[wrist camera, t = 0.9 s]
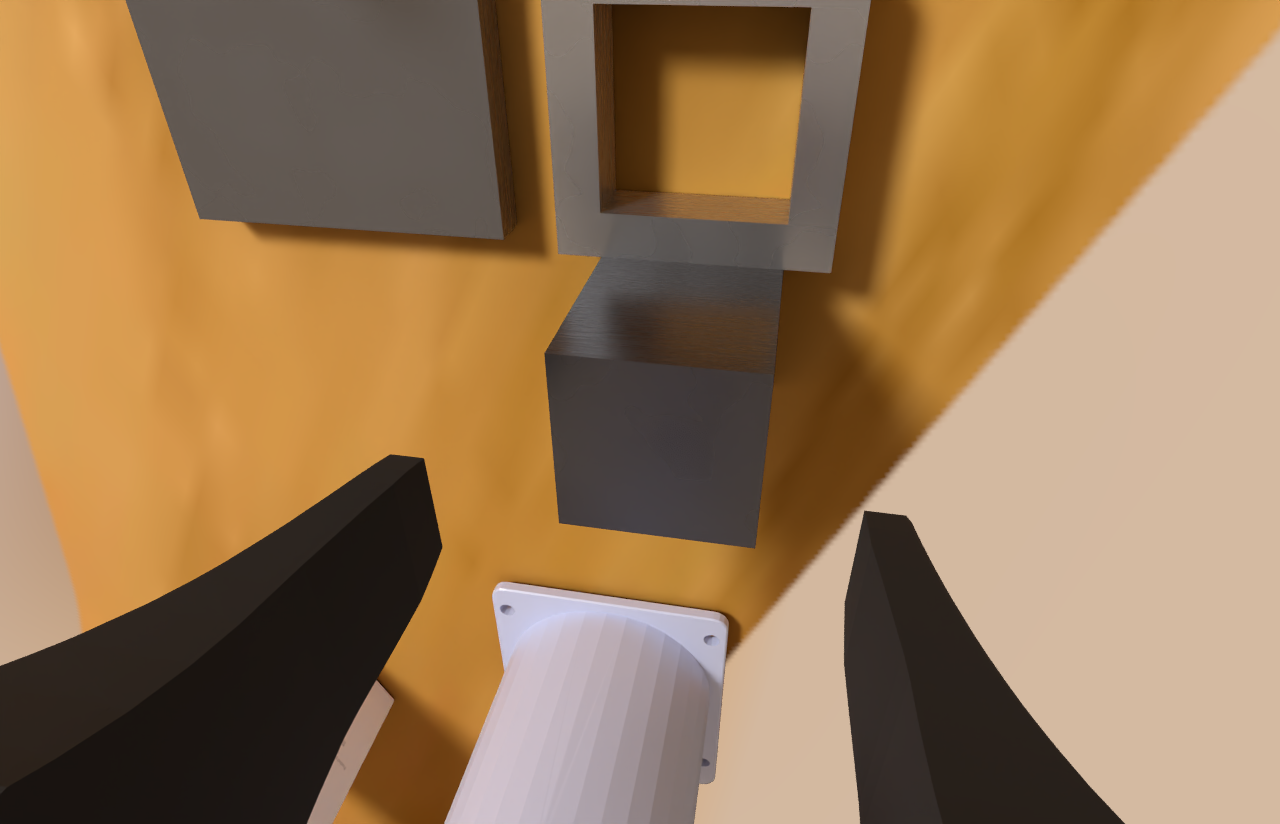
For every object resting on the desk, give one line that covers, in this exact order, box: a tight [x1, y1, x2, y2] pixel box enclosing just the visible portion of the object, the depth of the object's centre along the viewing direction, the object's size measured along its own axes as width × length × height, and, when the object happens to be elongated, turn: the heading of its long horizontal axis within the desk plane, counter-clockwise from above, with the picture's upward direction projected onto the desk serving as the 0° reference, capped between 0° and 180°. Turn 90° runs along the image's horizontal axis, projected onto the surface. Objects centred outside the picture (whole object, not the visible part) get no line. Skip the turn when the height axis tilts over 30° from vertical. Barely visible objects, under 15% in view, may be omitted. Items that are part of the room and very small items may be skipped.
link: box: [541, 0, 871, 548], centre depth 15 cm, size 10×6×6 cm, turn 0°
